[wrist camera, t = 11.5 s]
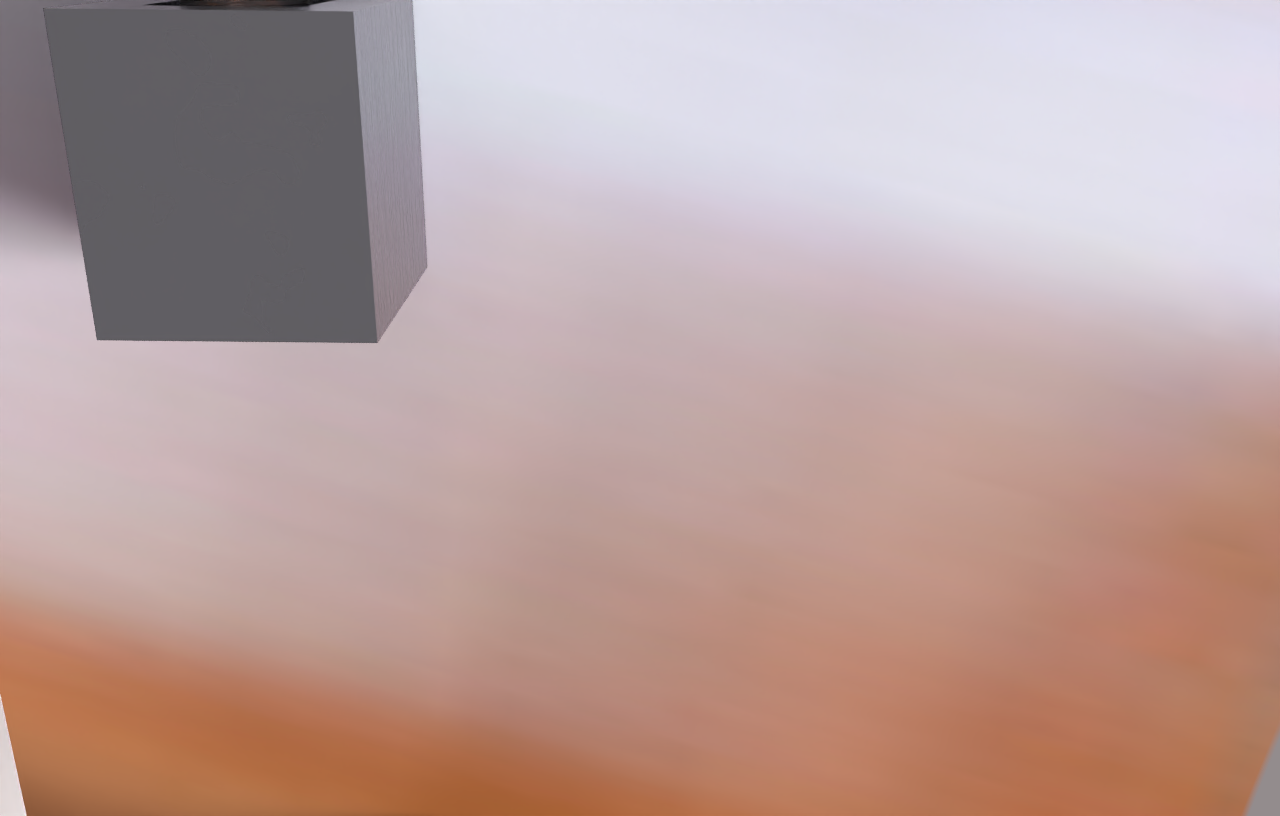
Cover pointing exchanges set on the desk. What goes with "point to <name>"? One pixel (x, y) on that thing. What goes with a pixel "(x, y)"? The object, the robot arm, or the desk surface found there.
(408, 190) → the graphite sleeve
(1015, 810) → the desk surface
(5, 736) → the robot arm
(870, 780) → the desk surface
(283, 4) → the metal rod with block
